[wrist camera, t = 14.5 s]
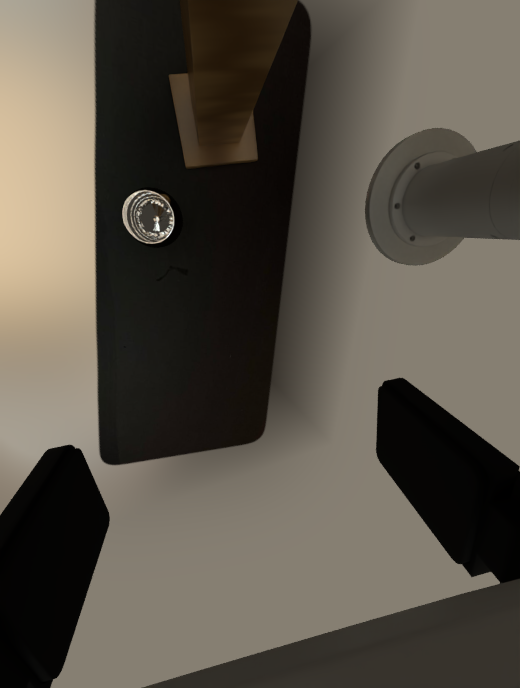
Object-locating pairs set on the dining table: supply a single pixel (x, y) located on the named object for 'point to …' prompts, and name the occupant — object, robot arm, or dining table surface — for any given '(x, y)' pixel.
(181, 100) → the pedestal
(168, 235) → the wineglass
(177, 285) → the dining table surface
